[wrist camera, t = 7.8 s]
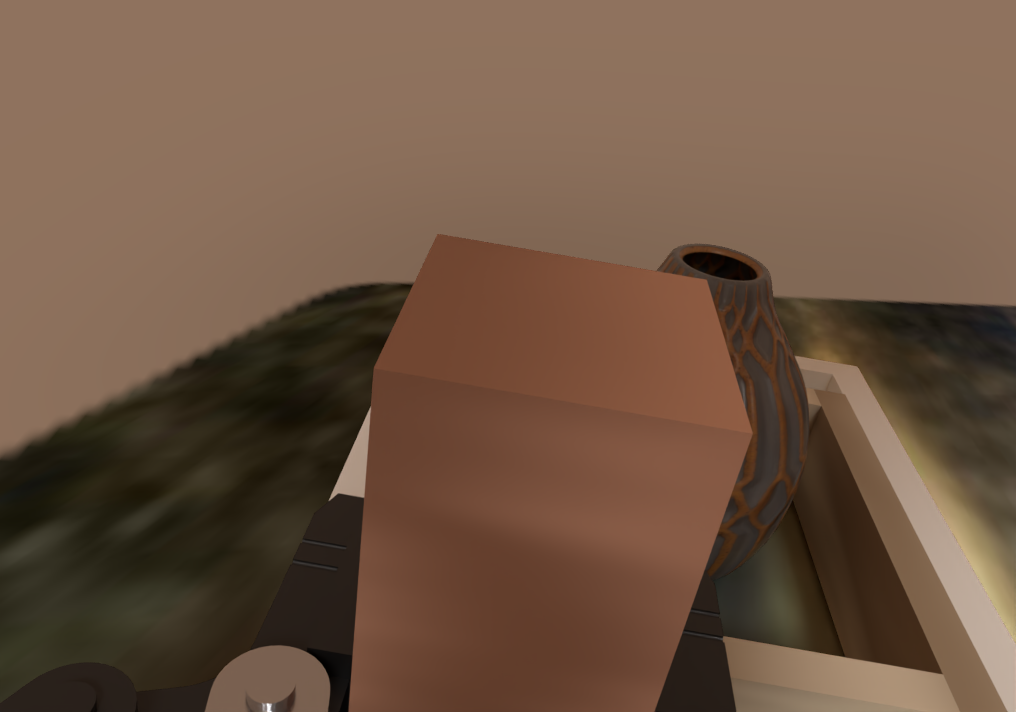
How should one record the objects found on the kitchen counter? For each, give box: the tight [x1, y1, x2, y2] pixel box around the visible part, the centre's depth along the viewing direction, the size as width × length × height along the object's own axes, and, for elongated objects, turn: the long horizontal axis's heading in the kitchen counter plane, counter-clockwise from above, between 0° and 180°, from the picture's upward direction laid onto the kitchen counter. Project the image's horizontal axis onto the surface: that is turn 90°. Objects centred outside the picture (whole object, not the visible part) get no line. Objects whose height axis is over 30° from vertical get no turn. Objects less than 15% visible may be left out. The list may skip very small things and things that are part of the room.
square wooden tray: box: [349, 234, 1008, 712], centre depth 17 cm, size 12×18×12 cm
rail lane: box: [329, 356, 1016, 712], centre depth 22 cm, size 17×22×2 cm
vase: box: [657, 244, 809, 581], centre depth 22 cm, size 7×7×9 cm
